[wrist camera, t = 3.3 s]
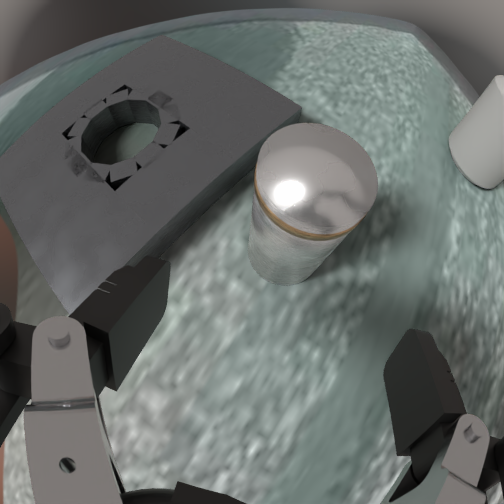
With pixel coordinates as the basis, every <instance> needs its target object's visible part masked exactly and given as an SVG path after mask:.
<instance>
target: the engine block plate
mask: <svg viewBox="0 0 504 504" xmlns="http://www.w3.org/2000/svg"><path fill="white" fill-rule="evenodd" d="M301 110H302V107H301V106H299V105H298V104H296V103H294V102H293V101H291V100H290V99H288V98H286V97H285V96H283V95H281V94H280V93H278V92H276V91H275V90H273V89H271V88H270V87H268V86H266V85H265V84H263V83H261V82H259V81H257V80H256V79H254V78H252V77H250V76H248V75H247V74H245V73H243V72H241V71H239V70H237V69H235V68H233V67H231V66H229V65H228V64H226V63H224V62H222V61H220V60H218V59H215V58H213V57H211V56H209V55H207V54H205V53H203V52H201V51H199V50H196V49H194V48H192V47H190V46H187V45H185V44H183V43H181V42H178V41H176V40H173V39H171V38H169V37H166V36H164V35H160V36H158V37H156V38H155V39H153V40H151V41H149V42H147V43H145V44H144V45H142V46H140V47H138V48H137V49H135V50H133V51H132V52H130V53H128V54H127V55H125V56H123V57H122V58H120V59H118V60H117V61H115V62H114V63H112V64H111V65H109V66H108V67H106V68H105V69H103V70H102V71H100V72H99V73H97V74H96V75H94V76H93V77H91V78H90V79H89V80H87V81H86V82H84V83H83V84H82V85H80V86H79V87H78V88H76V89H75V90H74V91H72V92H71V93H70V94H69V95H67V96H66V97H65V98H64V99H62V100H61V101H60V102H59V103H57V104H56V105H55V106H54V107H53V108H51V109H50V110H49V111H48V112H47V113H46V114H44V115H43V116H42V117H41V118H40V119H39V120H38V121H37V122H35V123H34V124H33V125H32V126H31V127H30V128H29V129H28V130H27V131H26V132H25V133H24V134H23V135H22V136H21V137H20V138H19V139H18V140H17V141H16V142H15V143H14V144H13V145H12V146H11V147H10V148H9V149H8V150H7V151H6V152H5V153H4V154H3V155H2V156H1V157H0V197H1V199H2V202H3V204H4V206H5V208H6V210H7V212H8V214H9V216H10V218H11V220H12V222H13V224H14V226H15V228H16V230H17V232H18V233H19V235H20V237H21V239H22V241H23V243H24V244H25V246H26V248H27V250H28V251H29V253H30V255H31V256H32V258H33V260H34V261H35V263H36V265H37V266H38V268H39V270H40V271H41V273H42V274H43V276H44V278H45V279H46V281H47V282H48V284H49V285H50V287H51V288H52V290H53V291H54V293H55V294H56V296H57V297H58V299H59V300H60V302H61V303H62V304H63V306H64V307H65V309H66V310H67V311H68V313H69V314H70V315H71V313H72V312H73V311H74V310H75V309H76V308H77V307H78V306H79V305H80V304H81V303H82V302H83V301H84V300H85V299H86V298H87V297H88V296H89V295H90V294H91V293H92V292H93V291H94V290H95V289H96V290H97V288H98V286H99V285H100V284H101V283H102V282H105V280H106V279H107V278H108V277H109V276H110V275H111V274H112V273H113V272H114V271H116V270H118V269H120V268H123V267H125V266H127V265H129V266H132V267H135V266H136V265H137V264H138V263H139V262H140V261H141V260H142V259H143V258H144V257H145V256H146V255H149V256H153V257H156V258H158V257H159V256H160V255H161V254H162V253H163V252H164V251H165V250H166V249H167V248H168V247H169V246H170V245H171V244H172V243H173V242H174V241H175V240H176V239H178V238H179V237H180V236H181V235H182V234H183V233H184V232H185V231H186V230H187V229H188V228H189V227H190V226H191V225H192V224H193V223H194V222H195V221H196V220H197V219H198V218H199V217H200V216H201V215H202V214H204V213H205V212H206V211H207V210H208V209H209V208H210V207H211V206H212V205H213V204H214V203H215V202H216V201H217V200H219V199H220V198H221V197H222V196H223V195H224V194H225V193H226V192H227V191H228V190H229V189H230V188H232V187H233V186H234V185H235V184H236V183H237V182H238V181H239V180H240V179H242V178H243V177H244V176H245V175H246V174H247V173H248V172H249V171H251V170H252V169H253V168H254V167H255V166H256V164H257V160H258V155H259V152H260V149H261V147H262V146H263V144H264V142H265V141H266V140H267V139H268V138H269V137H270V136H271V135H272V134H273V133H275V132H276V131H277V130H279V129H281V128H283V127H286V126H289V125H293V124H298V122H299V118H300V114H301ZM134 122H141V123H152V124H154V125H155V126H157V127H158V128H159V129H158V131H157V133H156V136H155V138H154V140H153V142H151V143H150V144H149V145H148V146H147V147H145V148H144V149H143V150H142V151H140V152H139V153H138V154H137V155H136V156H134V157H133V158H129V159H127V160H124V161H121V162H118V163H115V164H112V165H107V164H99V163H94V155H95V153H96V152H97V150H98V148H99V146H100V144H101V142H102V140H104V139H105V138H106V137H107V136H108V135H110V134H111V133H112V132H113V131H115V130H116V129H117V128H119V127H122V126H125V125H128V124H131V123H134Z"/></svg>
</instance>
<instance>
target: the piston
mask: <svg viewBox="0 0 504 504" xmlns="http://www.w3.org/2000/svg"><path fill="white" fill-rule="evenodd" d="M377 191H378V178H377V173H376V170H375V167H374V165H373V162H372V160H371V159H370V157H369V155H368V154H367V153H366V151H365V150H364V149H363V148H362V147H361V146H360V145H359V144H358V143H357V142H356V141H355V140H354V139H353V138H351V137H350V136H348V135H347V134H345V133H343V132H341V131H340V130H337V129H335V128H333V127H330V126H326V125H322V124H317V123H298V124H293V125H289V126H286V127H283V128H281V129H279V130H277V131H276V132H275V133H273V134H272V135H271V136H270V137H269V138H268V139H267V140H266V141H265V142H264V144H263V146H262V147H261V149H260V152H259V155H258V160H257V164H256V168H255V176H254V196H253V206H252V215H251V224H250V234H249V243H248V255H249V259H250V262H251V265H252V266H253V268H254V270H255V271H256V272H257V273H258V274H259V275H260V276H261V277H262V278H263V279H265V280H267V281H268V282H271V283H273V284H277V285H282V286H288V285H294V284H298V283H300V282H302V281H304V280H305V279H307V278H308V277H309V276H310V275H311V274H312V273H313V272H314V271H315V270H316V269H317V268H318V267H319V266H320V264H321V263H322V262H323V261H324V260H325V259H326V258H327V257H328V256H329V255H330V254H331V253H332V251H333V250H334V249H335V248H336V247H337V246H338V245H339V244H340V243H341V242H342V240H343V239H344V238H345V237H346V236H347V235H348V234H349V233H350V232H351V231H352V230H353V229H354V228H355V227H356V226H357V225H358V224H359V223H360V222H361V221H362V220H363V219H364V217H365V216H366V214H367V213H368V211H369V210H370V208H371V207H372V205H373V204H374V201H375V199H376V195H377Z"/></svg>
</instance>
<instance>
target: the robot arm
mask: <svg viewBox="0 0 504 504" xmlns="http://www.w3.org/2000/svg"><path fill="white" fill-rule="evenodd" d="M169 277H170V262H169V261H165V260H162V259H159V258H156V257H153V256H149V255H146V256H145V257H144V258H143V259H142V260H141V261H140V262H139V263H138V264H137V265H136V266H135V267H132V266H129V265H127V266H125V267H123V268H120V269H118V270H116V271H114V272H113V273H112V274H111V275H110V276H109V277H108V278H107V279H106V280H105V282H102V283H101V284H100V285H99V286H98V288H97V290H96V289H95V290H94V291H93V292H92V293H91V294H90V295H89V296H88V297H87V298H86V299H85V300H84V301H83V302H82V303H81V304H80V305H79V306H78V307H77V308H76V309H75V310H74V311H73V312H72V313H71V315H70V316H69V317H65V316H56V317H51V318H48V319H46V320H44V321H42V322H41V323H40V324H39V325H38V326H33V325H28V324H23V323H19V322H15V321H13V319H12V316H11V313H10V310H9V308H8V307H7V306H6V305H4V304H2V303H0V447H1V445H2V443H3V442H4V440H5V438H6V437H7V435H8V433H9V432H10V430H11V428H12V427H13V425H14V423H15V422H16V420H17V419H18V417H19V415H20V414H21V412H22V411H23V409H24V408H25V409H24V430H25V441H26V451H27V459H28V466H29V472H30V478H31V484H32V489H33V494H34V499H35V503H36V504H246V503H244V502H241V501H239V500H237V499H235V498H232V497H230V496H228V495H225V494H221V493H217V492H213V491H209V490H206V489H202V488H198V487H195V486H191V485H188V484H185V483H182V482H179V481H178V482H177V484H176V487H175V490H173V489H154V488H152V489H140V490H135V491H129V492H126V489H125V486H124V484H123V481H122V478H121V475H120V472H119V469H118V466H117V463H116V460H115V457H114V454H113V451H112V448H111V444H110V440H109V437H108V433H107V429H106V425H105V421H104V416H103V412H102V408H101V403H100V398H99V395H100V393H101V392H102V390H103V389H104V387H105V386H106V387H108V388H110V389H112V390H115V391H117V390H118V388H119V387H120V385H121V383H122V382H123V380H124V378H125V377H126V375H127V374H128V372H129V370H130V369H131V367H132V365H133V364H134V362H135V360H136V359H137V357H138V356H139V354H140V352H141V351H142V349H143V348H144V346H145V344H146V343H147V341H148V340H149V338H150V336H151V335H152V333H153V332H154V330H155V329H156V327H157V325H158V324H159V322H160V321H161V319H162V317H163V315H164V312H165V309H166V305H167V298H168V287H169ZM450 372H451V370H450V368H449V365H448V363H447V361H446V359H445V358H444V356H443V355H442V354H441V353H440V351H439V350H438V348H437V346H436V344H435V341H434V339H433V337H432V335H431V334H430V333H429V332H425V331H421V330H416V329H409V330H408V331H407V332H406V333H405V334H404V336H403V337H402V339H401V341H400V342H399V344H398V345H397V347H396V348H395V350H394V351H393V353H392V354H391V356H390V357H389V359H388V360H387V362H386V365H385V368H384V382H385V387H386V392H387V397H388V402H389V408H390V413H391V419H392V425H393V432H394V438H395V445H396V452H397V456H411V461H410V462H408V463H407V464H406V465H405V467H404V468H403V470H402V472H401V473H400V475H399V477H398V478H397V480H396V481H395V483H394V484H393V486H392V487H391V489H390V490H389V492H388V493H387V495H386V496H385V498H384V499H383V501H382V502H381V503H380V504H488V503H487V496H486V491H487V490H488V489H490V488H491V487H493V486H494V485H496V484H497V483H499V482H500V481H501V486H502V492H503V498H504V437H503V438H502V439H497V438H494V437H491V436H489V432H488V429H487V427H486V425H485V424H484V423H483V421H482V420H481V419H479V418H478V417H477V416H475V415H472V414H467V413H466V410H465V407H464V404H463V401H462V398H461V396H460V393H459V390H458V388H457V385H456V383H454V381H455V380H454V378H453V375H452V373H450ZM30 399H32V402H31V405H26V404H27V403H28V401H29V400H30Z"/></svg>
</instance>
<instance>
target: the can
mask: <svg viewBox="0 0 504 504" xmlns="http://www.w3.org/2000/svg"><path fill="white" fill-rule="evenodd" d="M449 147H450V149H451V155H452V158H453V161H454V163H455V164H456V166H457V168H458V169H459V171H460V172H461V173H462V174H463V176H465V177H466V178H467V179H468V180H469V181H470V182H472V183H473V184H475V185H478V186H480V187H483V188H486V189H491V188H494V187H495V186H497V185H498V184H499V183H500V182H502V181H503V180H504V75H498V76H496V77H495V78H494V79H493V81H492V82H491V83H490V85H489V86H488V87H487V89H486V90H485V91H484V92H483V94H482V95H481V96H480V98H479V99H478V100H477V101H476V103H475V104H474V105H473V106H472V108H471V109H470V110H469V112H468V113H467V114H466V115H465V116H464V118H463V119H462V120H461V121H460V123H459V124H458V125H457V126H456V128H455V129H454V130H453V131H452V132H451V134H450V137H449Z"/></svg>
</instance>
